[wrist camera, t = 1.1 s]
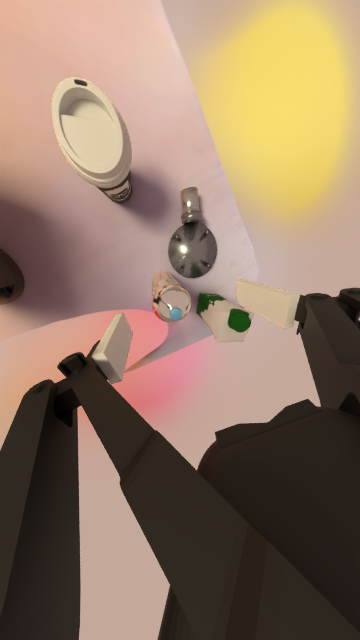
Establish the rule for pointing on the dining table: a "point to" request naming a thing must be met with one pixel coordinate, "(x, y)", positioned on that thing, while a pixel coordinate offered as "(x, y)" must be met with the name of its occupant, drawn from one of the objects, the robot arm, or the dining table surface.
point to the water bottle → (169, 298)
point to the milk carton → (224, 318)
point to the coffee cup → (93, 137)
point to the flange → (192, 240)
